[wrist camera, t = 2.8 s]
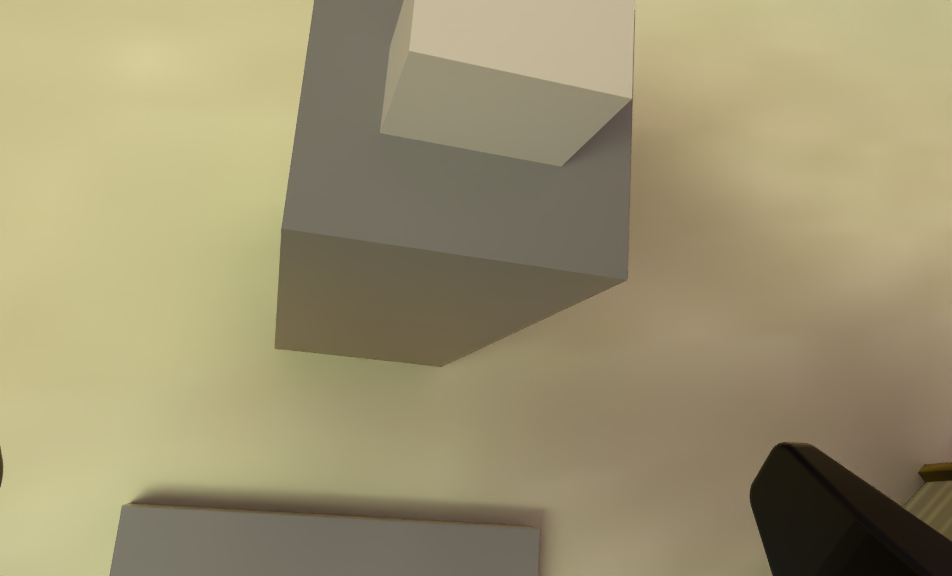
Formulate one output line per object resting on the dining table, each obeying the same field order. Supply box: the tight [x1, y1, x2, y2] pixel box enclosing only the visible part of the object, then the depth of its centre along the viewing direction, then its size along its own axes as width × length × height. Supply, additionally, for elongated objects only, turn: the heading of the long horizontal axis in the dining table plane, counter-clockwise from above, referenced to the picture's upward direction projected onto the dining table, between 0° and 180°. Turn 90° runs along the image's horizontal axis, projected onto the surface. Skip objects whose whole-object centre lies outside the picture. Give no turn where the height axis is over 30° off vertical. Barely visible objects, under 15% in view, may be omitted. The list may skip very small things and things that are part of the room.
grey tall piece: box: [275, 0, 635, 367], centre depth 14 cm, size 4×4×13 cm
